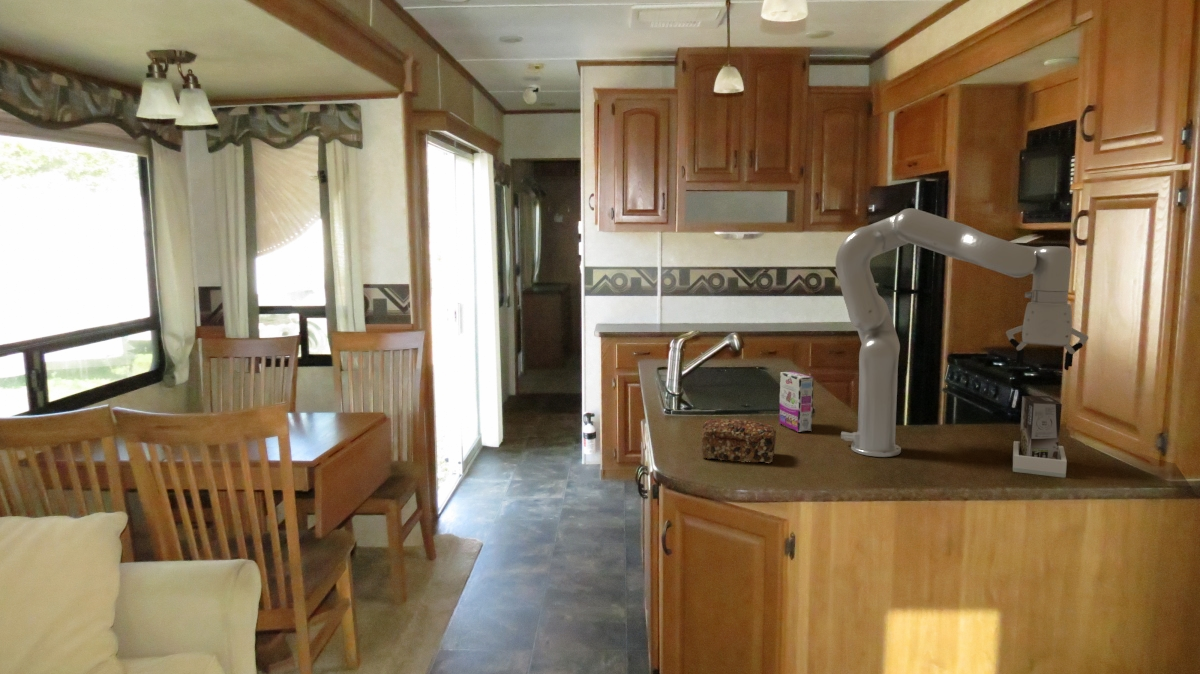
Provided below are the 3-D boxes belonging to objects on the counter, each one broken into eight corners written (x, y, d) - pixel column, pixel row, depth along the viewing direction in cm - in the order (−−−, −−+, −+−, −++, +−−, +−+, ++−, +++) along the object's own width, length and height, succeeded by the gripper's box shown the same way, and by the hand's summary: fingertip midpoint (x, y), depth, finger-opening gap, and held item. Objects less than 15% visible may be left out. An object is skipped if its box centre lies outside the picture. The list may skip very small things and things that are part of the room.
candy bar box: (813, 431, 224) (814, 377, 221) (798, 433, 222) (799, 378, 220) (792, 422, 234) (793, 370, 232) (778, 424, 233) (779, 371, 230)
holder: (1012, 471, 186) (1013, 455, 185) (1012, 455, 198) (1013, 441, 197) (1065, 477, 180) (1066, 461, 180) (1062, 461, 193) (1063, 446, 192)
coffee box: (1058, 468, 184) (1062, 403, 182) (1028, 467, 185) (1033, 402, 183) (1045, 457, 193) (1050, 395, 190) (1017, 456, 194) (1021, 394, 192)
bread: (700, 460, 199) (700, 423, 198) (707, 449, 209) (707, 413, 208) (773, 466, 194) (774, 427, 192) (776, 453, 204) (777, 417, 202)
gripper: (1008, 297, 184) (1003, 367, 186) (1093, 301, 176) (1086, 373, 178) (1008, 294, 190) (1003, 362, 193) (1090, 298, 182) (1083, 368, 185)
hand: (1043, 367), depth 186 cm, fingers open, 9 cm apart
